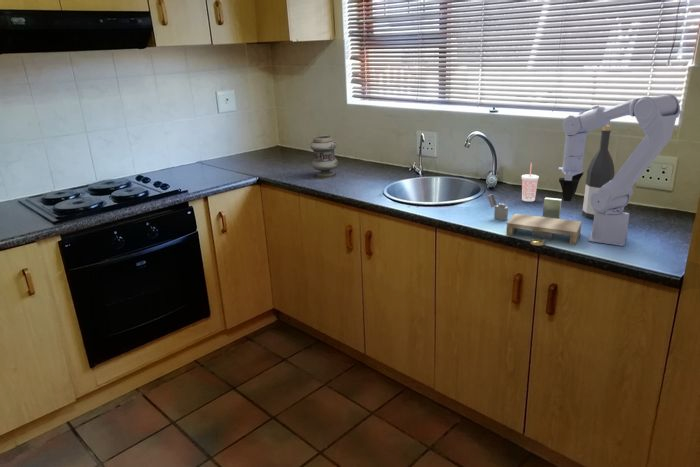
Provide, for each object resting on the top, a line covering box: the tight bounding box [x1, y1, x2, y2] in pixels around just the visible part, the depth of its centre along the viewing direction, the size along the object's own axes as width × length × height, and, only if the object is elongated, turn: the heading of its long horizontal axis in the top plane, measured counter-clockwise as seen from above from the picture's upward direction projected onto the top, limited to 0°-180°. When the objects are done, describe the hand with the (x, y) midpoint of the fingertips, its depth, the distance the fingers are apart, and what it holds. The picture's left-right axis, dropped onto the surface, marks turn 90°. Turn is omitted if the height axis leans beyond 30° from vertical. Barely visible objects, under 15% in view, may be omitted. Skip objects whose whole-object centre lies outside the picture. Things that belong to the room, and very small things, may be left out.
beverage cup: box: [521, 162, 540, 203], centre depth 195 cm, size 6×6×14 cm
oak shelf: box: [505, 213, 582, 246], centre depth 162 cm, size 20×10×4 cm, turn 60°
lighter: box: [486, 193, 509, 221], centre depth 178 cm, size 7×2×8 cm, turn 47°
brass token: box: [530, 238, 546, 247], centre depth 157 cm, size 4×4×1 cm
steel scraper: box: [532, 196, 563, 239], centre depth 166 cm, size 6×15×8 cm, turn 150°
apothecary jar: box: [310, 134, 339, 179], centre depth 241 cm, size 12×12×18 cm
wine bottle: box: [581, 124, 616, 220], centre depth 172 cm, size 8×8×30 cm
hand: (569, 197), depth 166 cm, fingers open, 7 cm apart
